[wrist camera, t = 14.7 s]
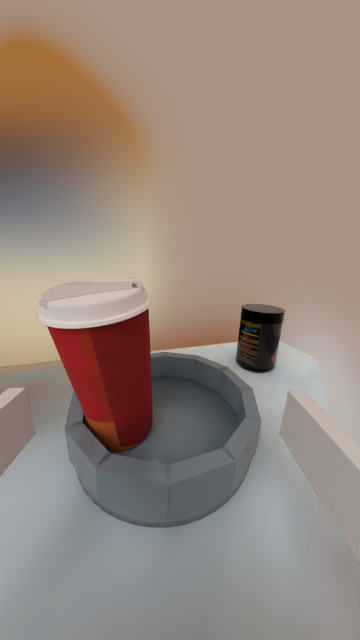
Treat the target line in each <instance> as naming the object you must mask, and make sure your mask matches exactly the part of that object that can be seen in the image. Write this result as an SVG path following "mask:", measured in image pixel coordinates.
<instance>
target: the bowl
mask: <svg viewBox="0 0 360 640" xmlns="http://www.w3.org/2000/svg"><path fill="white" fill-rule="evenodd" d="M150 355H151V378H152V404H153V421H152V427H151V430H150V432H149V434H148V435H147V437H146V438H145V439H144V440H143V441H142V442H141V443H140V444H139V445H137V446H136V447H134V448H132V449H130V450H127V451H123V452H110V451H107V449H106V448H105V447H104V446H103V445H102V444H101V443H100V442H99V441H98V439H97V438H96V437H95V436H94V435H93V433H92V431H91V428H90V426H89V424H88V422H87V419H86V417H85V415H84V412H83V410H82V408H81V405H80V403H79V401H78V398H77V396H76V394H75V391H74V392H73V396H72V400H71V404H70V409H69V413H68V417H67V422H66V426H65V433H66V439H67V446H68V452H69V459H70V461H71V463H72V464H73V466H74V467H75V469H76V472H77V476H78V479H79V481H80V483H81V485H82V487H83V489H84V491H85V492H86V493H87V495H88V496H89V497H90V498H91V500H92V501H93V502H94V503H95V504H96V505H98V506H99V507H100V508H101V509H102V510H103V511H105V512H107V513H108V514H110V515H112V516H114V517H115V518H117V519H119V520H122V521H125V522H128V523H131V524H134V525H140V526H146V527H172V526H178V525H184V524H187V523H190V522H193V521H196V520H199V519H202V518H203V517H205V516H207V515H209V514H211V513H213V512H215V511H216V510H217V509H219V508H220V507H221V506H222V505H224V504H225V503H226V502H227V501H228V500H229V499H230V498H231V497H232V496H233V495H234V494H235V493H236V491H237V490H238V488H239V487H240V485H241V484H242V482H243V480H244V478H245V476H246V473H247V471H248V467H249V463H250V460H251V458H252V457H253V455H254V453H255V451H256V446H257V441H258V435H259V430H260V424H261V420H260V416H259V413H258V409H257V405H256V402H255V398H254V394H253V390H252V388H251V387H250V386H248V385H247V384H246V383H245V382H244V381H243V380H242V379H240V378H239V377H238V376H237V375H236V374H235V373H234V372H232V371H231V370H230V369H229V368H228V367H226V366H223V365H221V364H218V363H215V362H213V361H210V360H208V359H205V358H202V357H200V356H196V355H187V354H178V353H169V352H161V353H153V354H150Z"/></svg>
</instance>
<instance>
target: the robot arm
mask: <svg viewBox="0 0 360 640" xmlns="http://www.w3.org/2000/svg"><path fill="white" fill-rule="evenodd" d="M34 434H35V432H34V427H33V422H32V417H31V412H30V407H29V402H28V398H27V393H26V388H8V389H7V390H6V391H4V392H3V393H2V394H0V476H1V475H2V474H3V472H4V471H5V470H6V469H7V467H8V466H9V465H10V464H11V462H12V461H13V460H14V459H15V457H16V456H17V455H18V454H19V452H20V451H21V450H22V449H23V447H24V446H25V445H26V444H27V442H28V441H29V440H30V439H31V437H32V436H33V435H34ZM279 434H280V435H281V437H282V439H283V440H284V442H285V444H286V445H287V447H288V448H289V450H290V452H291V453H292V455H293V457H294V458H295V460H296V461H297V463H298V465H299V466H300V468H301V470H302V471H303V473H304V474H305V476H306V478H307V479H308V481H309V483H310V484H311V486H312V487H313V489H314V491H315V492H316V494H317V496H318V497H319V499H320V500H321V502H322V504H323V505H324V507H325V509H326V510H327V512H328V513H329V515H330V517H331V518H332V520H333V522H334V523H335V525H336V526H337V528H338V530H339V531H340V533H341V535H342V536H343V538H344V539H345V541H346V543H347V544H348V546H349V548H350V549H351V551H352V552H353V554H354V556H355V557H356V559H357V561H358V562H359V564H360V447H359V446H358V445H357V444H356V443H355V442H354V441H353V440H352V439H351V438H350V437H349V436H348V435H347V434H346V433H345V432H344V431H343V430H342V429H341V428H340V427H339V426H338V425H337V424H336V423H335V422H334V421H333V420H332V419H331V418H330V417H329V416H328V415H327V414H326V413H325V412H324V411H323V410H322V409H321V408H320V407H319V406H318V405H317V404H316V403H315V402H314V401H313V400H312V399H311V398H310V397H309V396H308V395H307V394H306V393H305V392H304V391H288V396H287V400H286V405H285V410H284V414H283V419H282V424H281V428H280V433H279Z"/></svg>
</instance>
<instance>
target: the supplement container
mask: <svg viewBox="0 0 360 640" xmlns="http://www.w3.org/2000/svg"><path fill="white" fill-rule="evenodd" d="M284 314H285V310H284V309H282V308H279V307H275V306H269V305H260V304H247V305H243V306H242V311H241V321H240V328H239V329H240V330H239V337H238V345H237V353H236V361H237V363H238V364H239V365H240V366H241V367H243V368H244V369H247V370H249V371H253V372H268V371H270V370H272V369H273V368H274V366H275V362H276V356H277V351H278V345H279V340H280V335H281V329H282V323H283V320H284Z"/></svg>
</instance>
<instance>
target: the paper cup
mask: <svg viewBox="0 0 360 640" xmlns="http://www.w3.org/2000/svg"><path fill="white" fill-rule="evenodd" d="M151 304H152V298H151V297H150V295H149V294H148V293H147V292H146V289H145V288H144V286H143V283H142V282H141V281H140V280H138V279H135V278H128V277H102V278H91V279H85V280H79V281H74V282H70V283H66V284H62V285H59V286H56V287H53V288H51V289H49V290H48V291H46V292H44V293H43V295H42V299H41V300H40V301H39V305H40V306H41V309H40V310H39V311H38V312H37V314H36V317H37V318H38V320H39V322H41V323H42V324H44V325H46V326H48V329H49V331H50V334H51V336H52V339H53V341H54V343H55V346H56V348H57V351H58V353H59V355H60V358H61V360H62V363H63V365H64V367H65V370H66V372H67V374H68V377H69V379H70V382H71V384H72V386H73V389H74V391H75V394H76V396H77V398H78V401H79V403H80V405H81V408H82V410H83V412H84V415H85V417H86V419H87V422H88V424H89V426H90V428H91V431H92V433H93V435H94V436H95V437H96V438H97V439H98V441H99V442H100V443H101V444H102V445H103V446H104V447H105V448H106V449H107V451H110V452H123V451H127V450H130V449H132V448H134V447H136V446H137V445H139V444H140V443H141V442H142V441H143V440H144V439H145V438H146V437H147V435H148V434H149V432H150V430H151V427H152V421H153V404H152V378H151V355H150V332H149V311H148V308H149V307H150V305H151Z"/></svg>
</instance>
